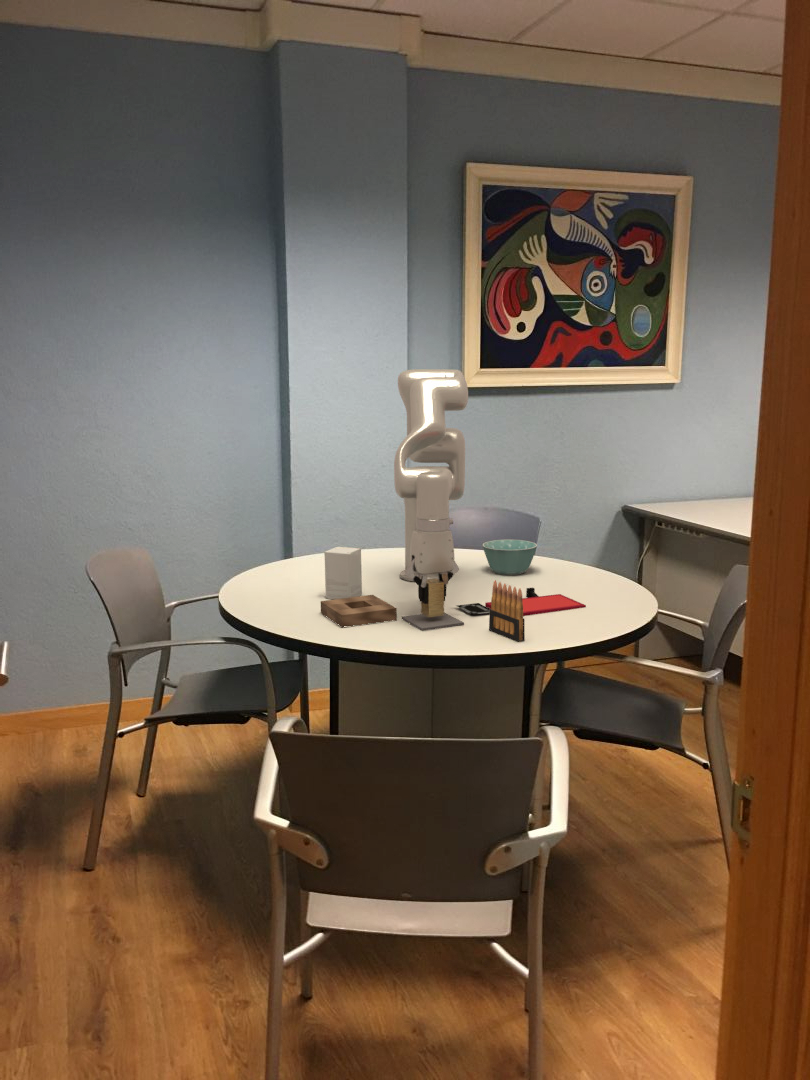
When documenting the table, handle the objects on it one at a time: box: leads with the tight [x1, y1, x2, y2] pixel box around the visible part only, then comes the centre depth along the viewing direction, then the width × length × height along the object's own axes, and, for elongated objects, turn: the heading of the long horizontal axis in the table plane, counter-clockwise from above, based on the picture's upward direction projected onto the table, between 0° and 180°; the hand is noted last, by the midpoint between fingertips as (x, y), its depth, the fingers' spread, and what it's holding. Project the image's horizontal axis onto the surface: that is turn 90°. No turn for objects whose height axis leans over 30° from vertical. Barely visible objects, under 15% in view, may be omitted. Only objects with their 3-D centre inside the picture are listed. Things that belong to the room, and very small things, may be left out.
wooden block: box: [420, 579, 445, 617], centre depth 218 cm, size 4×4×8 cm
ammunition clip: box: [488, 580, 525, 643], centre depth 207 cm, size 11×2×12 cm, turn 32°
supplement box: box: [323, 546, 363, 600], centre depth 241 cm, size 7×7×13 cm
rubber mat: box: [400, 611, 465, 632], centre depth 219 cm, size 11×11×1 cm
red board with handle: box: [455, 587, 587, 617], centre depth 232 cm, size 30×3×15 cm
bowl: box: [481, 539, 538, 576], centre depth 269 cm, size 16×16×8 cm
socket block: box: [320, 594, 398, 628], centre depth 224 cm, size 14×14×3 cm
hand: (432, 600), depth 218 cm, fingers closed on wooden block, 3 cm apart
